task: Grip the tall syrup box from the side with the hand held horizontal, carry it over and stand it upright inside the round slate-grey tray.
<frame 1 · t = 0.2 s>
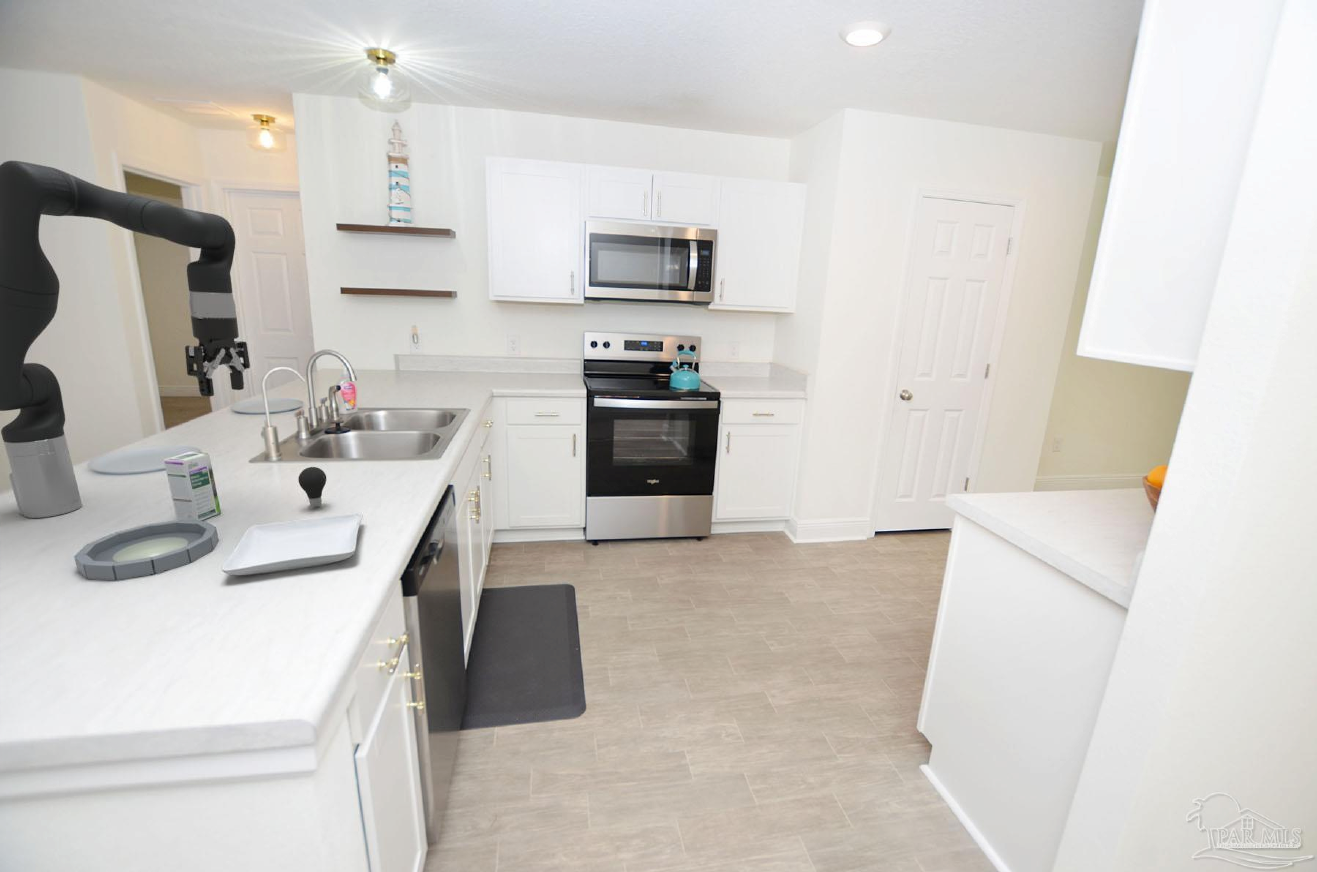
hand: (223, 392, 121), 29 cm above the counter, tool pointing down, fingers open, 8 cm apart
light bulb: (316, 508, 135), on the counter
salad plate: (301, 553, 114), on the counter
round tray: (152, 554, 111), on the counter
syrup box: (199, 517, 128), on the counter
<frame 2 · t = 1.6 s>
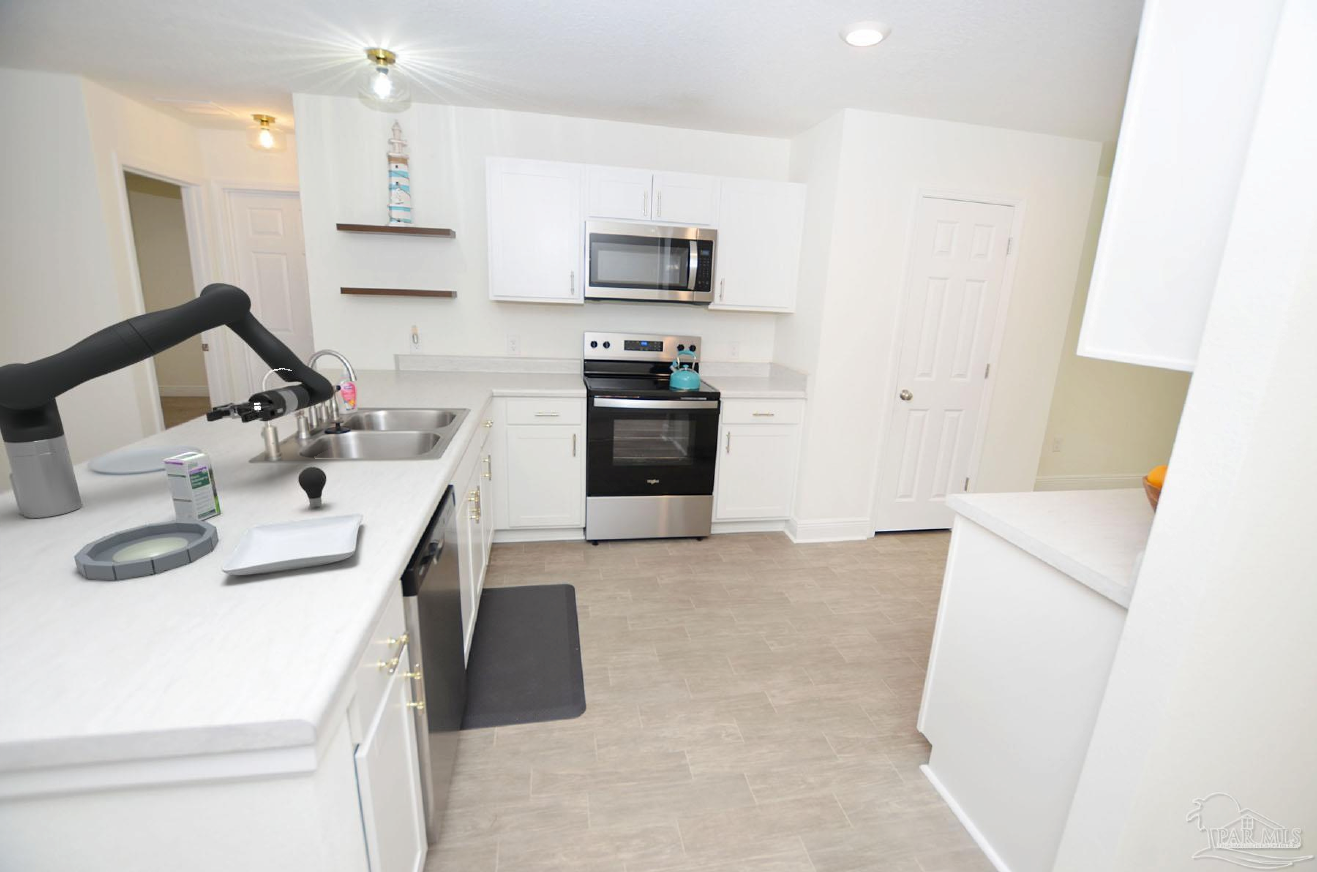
hand: (225, 418, 135), 20 cm above the counter, tool horizontal, fingers open, 8 cm apart
nothing on the counter moved.
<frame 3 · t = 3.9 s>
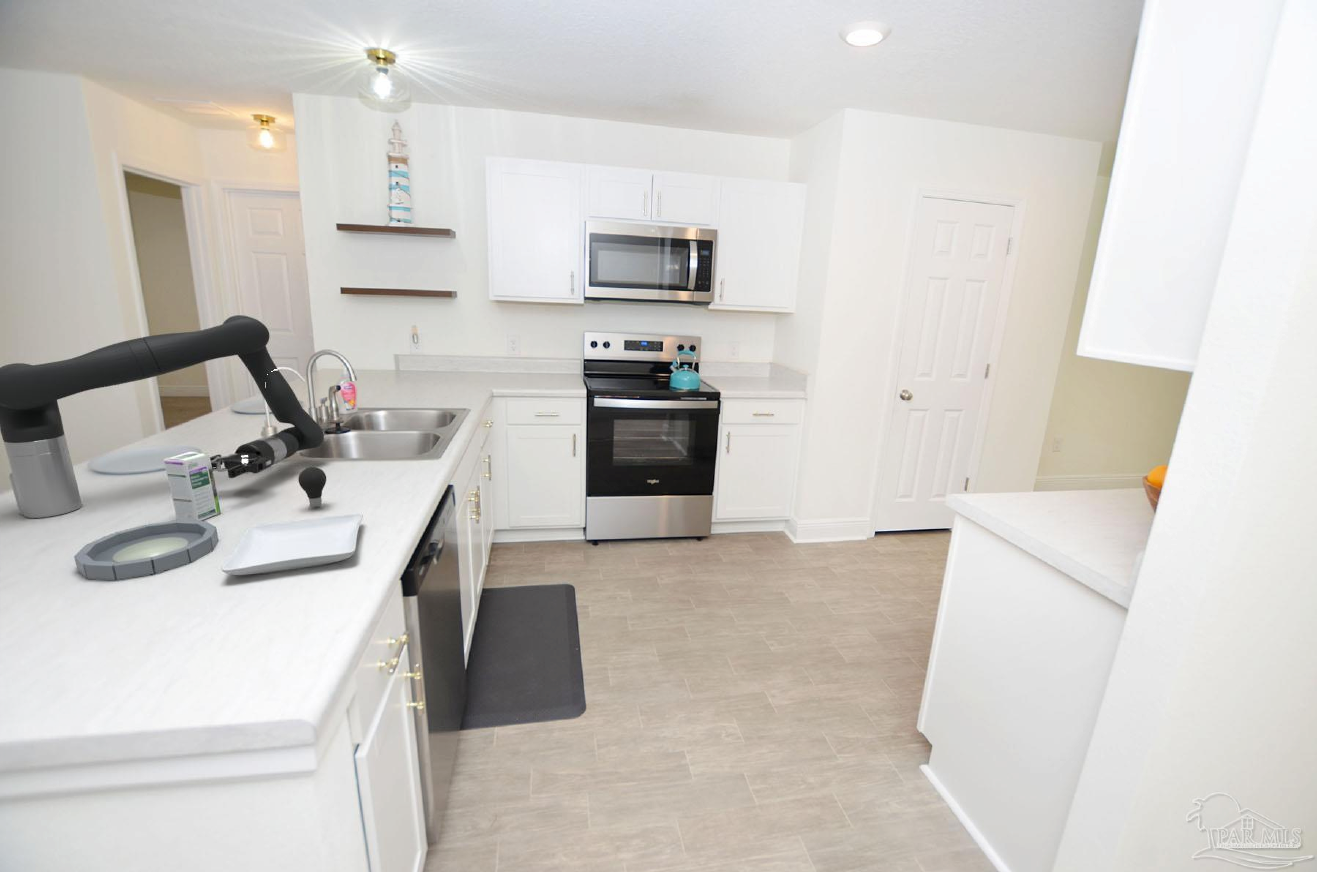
hand: (211, 473, 131), 8 cm above the counter, tool horizontal, fingers open, 8 cm apart
nothing on the counter moved.
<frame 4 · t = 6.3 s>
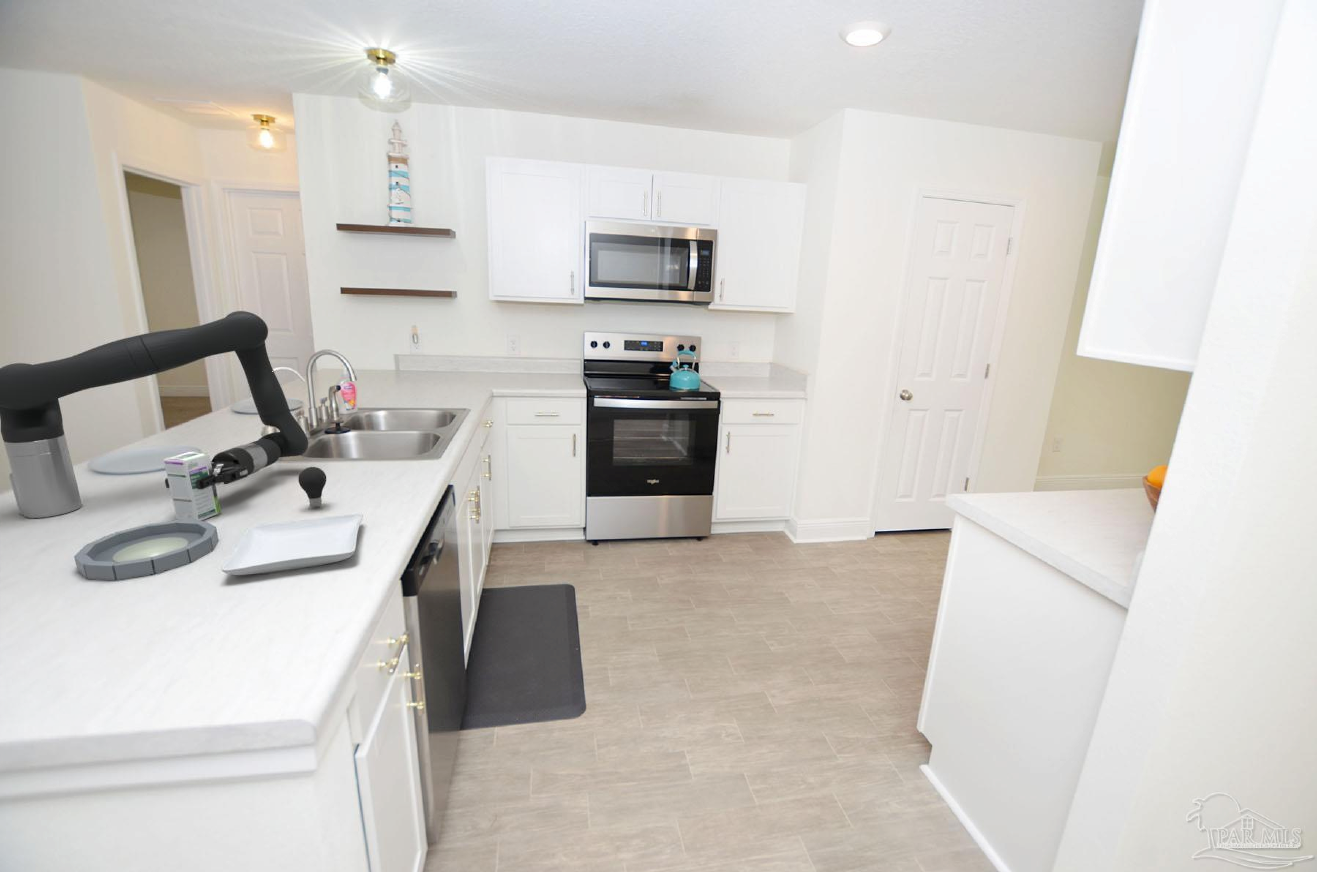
hand: (182, 484, 124), 9 cm above the counter, tool horizontal, fingers closed on syrup box, 6 cm apart
syrup box: (198, 517, 128), on the counter, touching gripper
everything else where it was.
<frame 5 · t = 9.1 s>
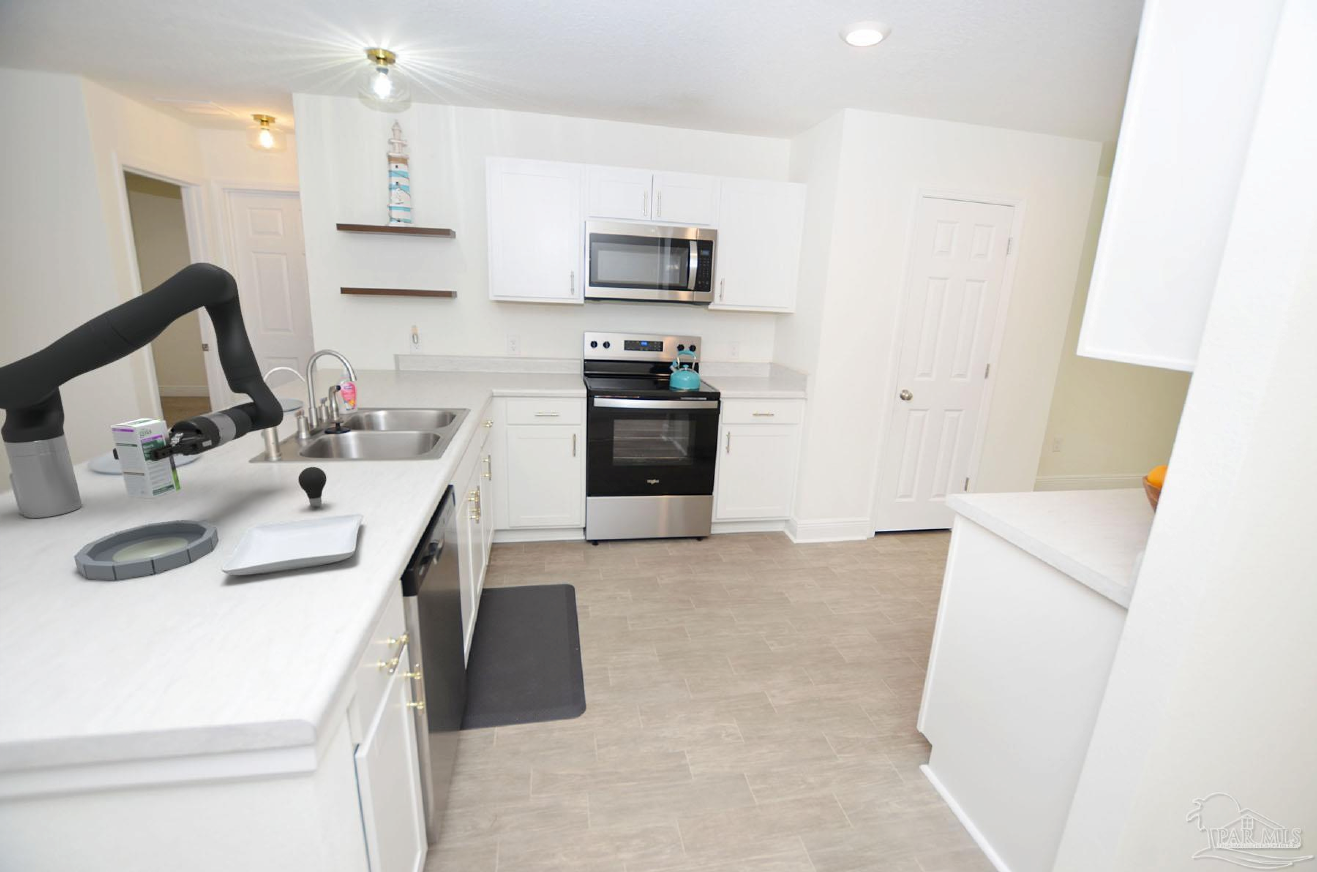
hand: (133, 455, 107), 20 cm above the counter, tool horizontal, fingers closed on syrup box, 6 cm apart
syrup box: (154, 494, 111), point 11 cm above the counter, touching gripper
everything else where it was.
when the fingers open (10 cm above the counter, at t = 12.1 s): syrup box stays where it is, resting on round tray.
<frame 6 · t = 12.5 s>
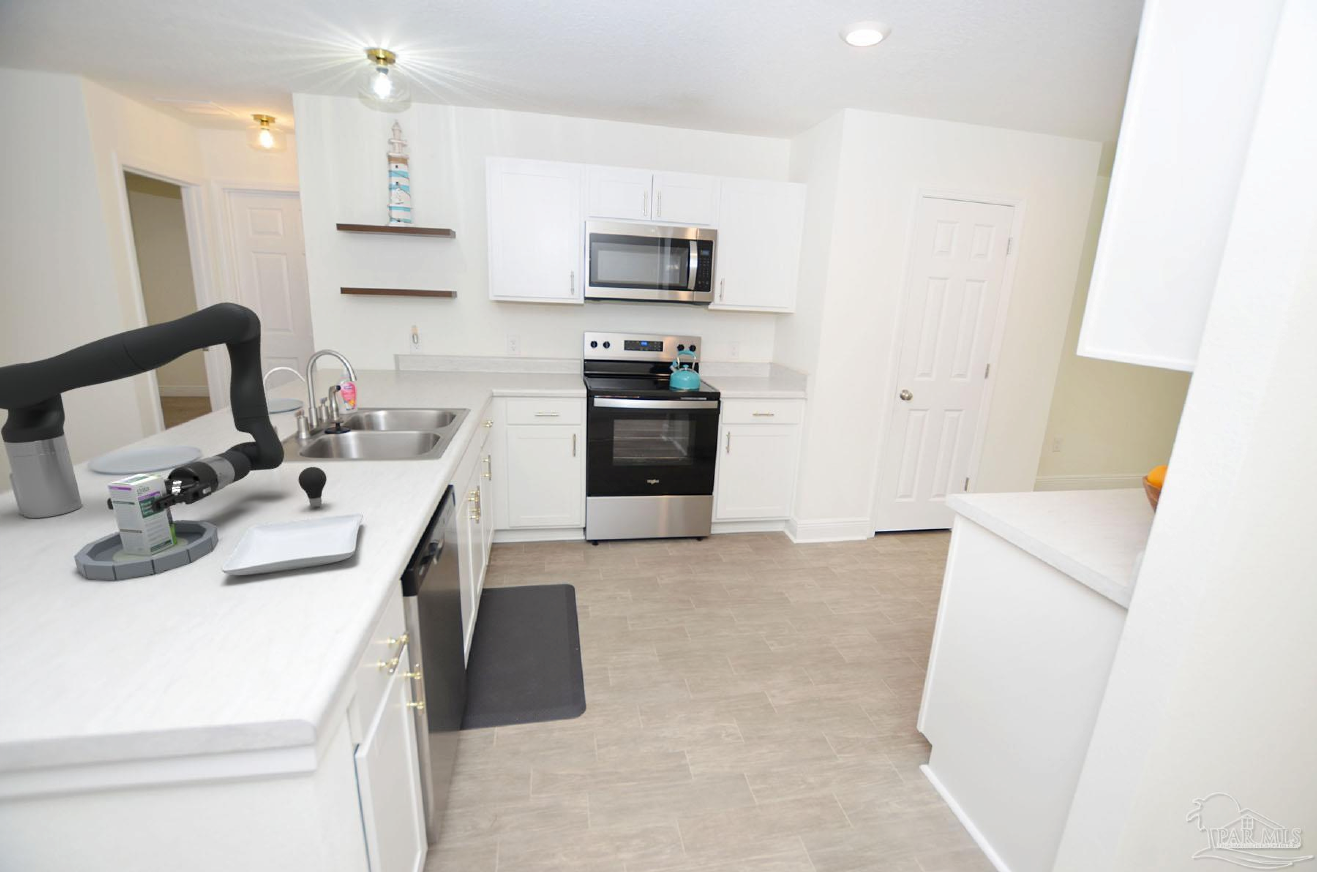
hand: (131, 505, 106), 11 cm above the counter, tool horizontal, fingers open, 8 cm apart
syrup box: (151, 550, 111), point 1 cm above the counter, touching round tray
everything else where it was.
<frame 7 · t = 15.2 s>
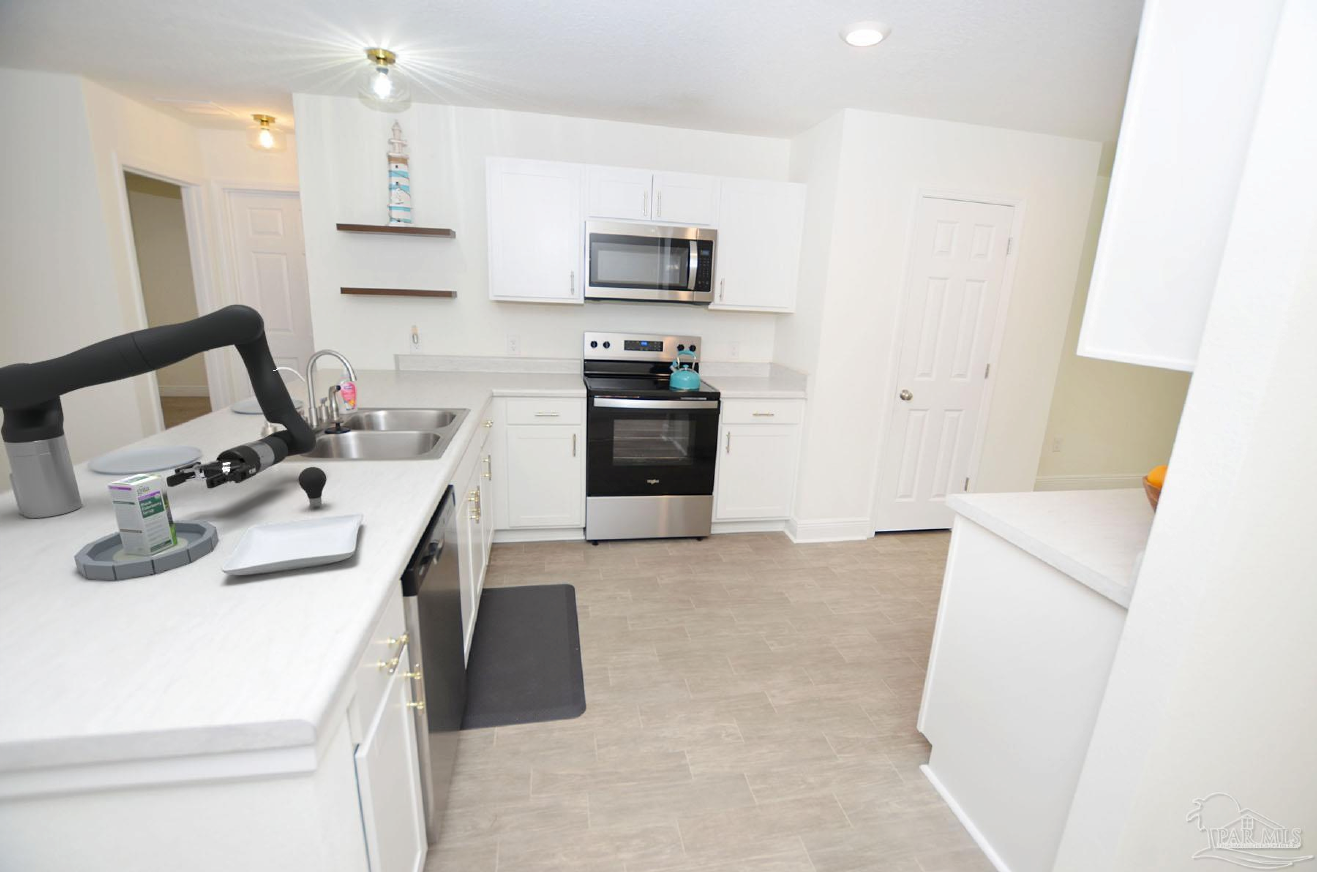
hand: (188, 483, 118), 11 cm above the counter, tool horizontal, fingers open, 8 cm apart
nothing on the counter moved.
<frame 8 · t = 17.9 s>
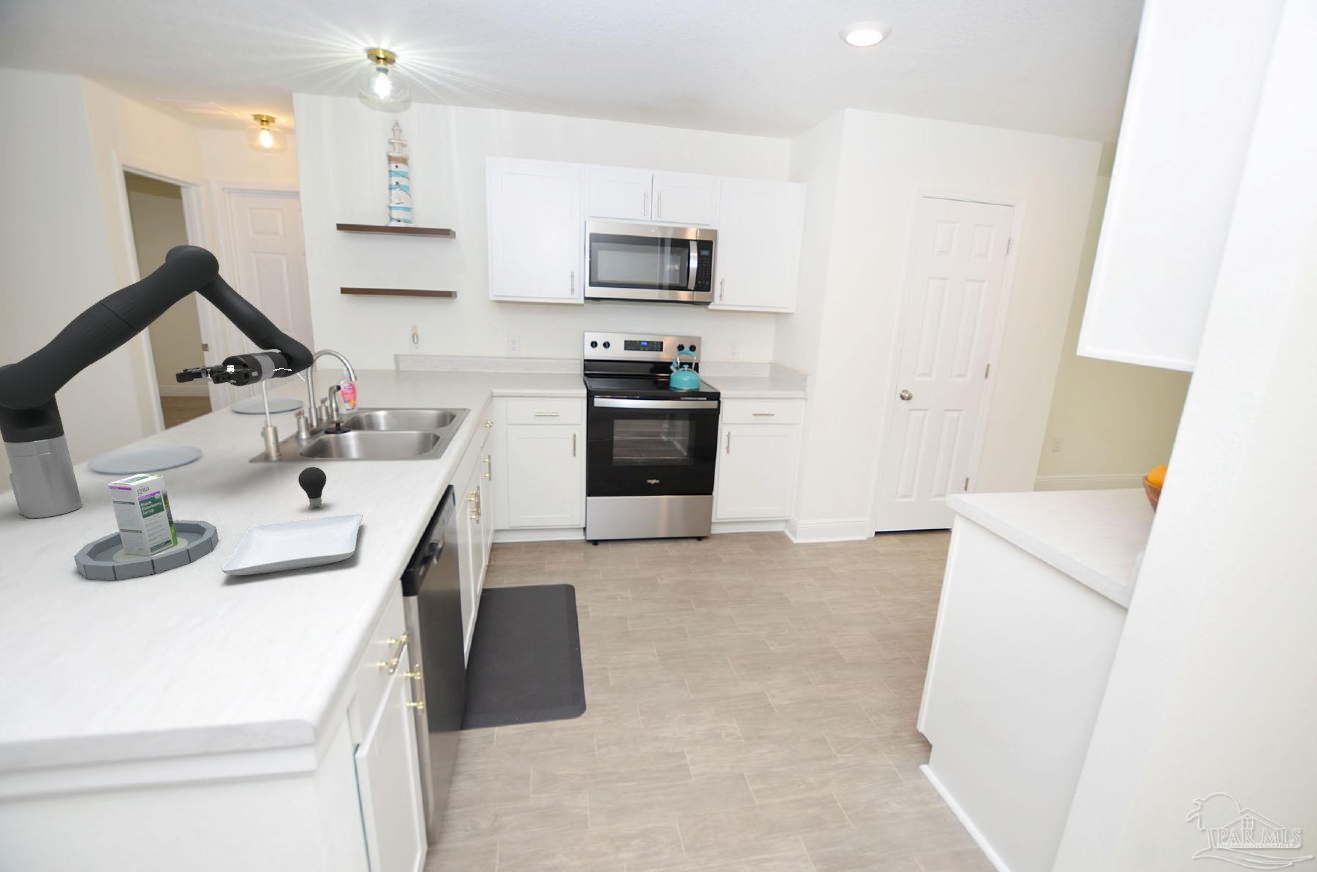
hand: (196, 378, 128), 30 cm above the counter, tool horizontal, fingers open, 8 cm apart
nothing on the counter moved.
at the end: syrup box inside the target area on the round tray (0.1 cm from its centre), point 0.8 cm above the round tray's base; syrup box tilted 0°; the gripper is holding nothing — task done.
